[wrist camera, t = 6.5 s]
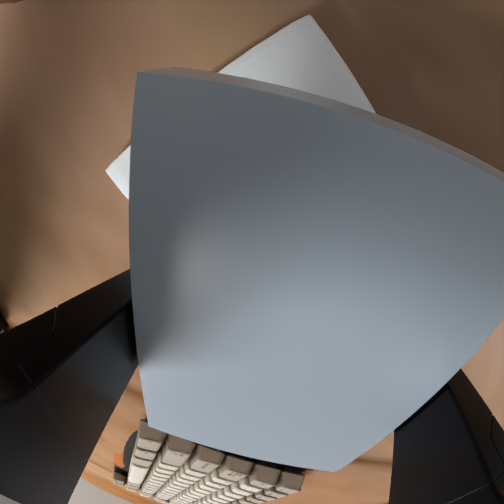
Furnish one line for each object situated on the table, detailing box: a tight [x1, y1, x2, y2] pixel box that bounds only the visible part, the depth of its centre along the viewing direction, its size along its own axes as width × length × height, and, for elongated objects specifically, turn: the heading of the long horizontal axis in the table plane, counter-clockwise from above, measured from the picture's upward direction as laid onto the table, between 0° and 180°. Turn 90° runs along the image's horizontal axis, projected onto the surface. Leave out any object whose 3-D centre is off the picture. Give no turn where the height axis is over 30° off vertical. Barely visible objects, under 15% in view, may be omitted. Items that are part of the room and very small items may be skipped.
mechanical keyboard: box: [113, 419, 305, 504], centre depth 32 cm, size 38×19×3 cm, turn 160°
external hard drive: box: [106, 15, 376, 200], centre depth 11 cm, size 2×8×12 cm
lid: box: [129, 67, 504, 472], centre depth 7 cm, size 7×10×1 cm, turn 169°
